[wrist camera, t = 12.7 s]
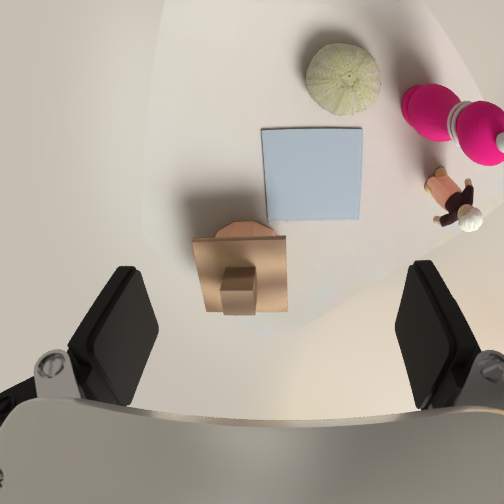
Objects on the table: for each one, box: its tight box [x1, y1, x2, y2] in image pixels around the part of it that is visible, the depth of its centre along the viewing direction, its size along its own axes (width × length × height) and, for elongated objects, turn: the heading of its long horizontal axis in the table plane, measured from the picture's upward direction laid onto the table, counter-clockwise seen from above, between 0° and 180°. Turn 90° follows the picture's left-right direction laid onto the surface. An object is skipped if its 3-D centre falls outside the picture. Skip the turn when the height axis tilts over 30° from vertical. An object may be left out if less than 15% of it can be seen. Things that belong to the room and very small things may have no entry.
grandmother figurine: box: [424, 167, 483, 232], centre depth 35 cm, size 8×4×13 cm, turn 159°
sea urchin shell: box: [305, 43, 381, 116], centre depth 33 cm, size 9×8×8 cm
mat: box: [262, 128, 363, 221], centre depth 42 cm, size 13×13×1 cm
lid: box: [192, 236, 288, 315], centre depth 42 cm, size 12×12×6 cm
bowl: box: [215, 221, 277, 238], centre depth 47 cm, size 11×11×6 cm
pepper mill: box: [402, 84, 504, 166], centre depth 27 cm, size 7×7×20 cm
